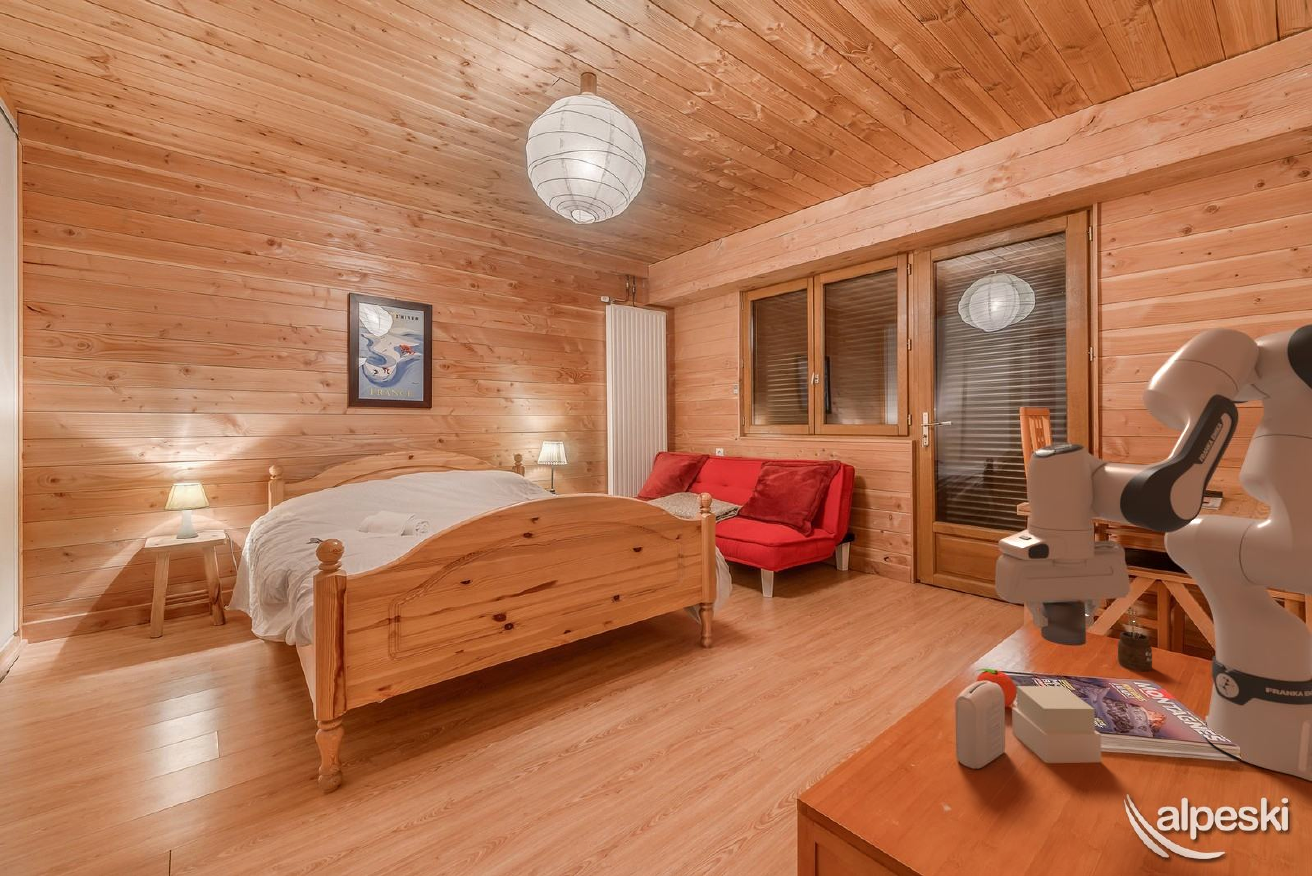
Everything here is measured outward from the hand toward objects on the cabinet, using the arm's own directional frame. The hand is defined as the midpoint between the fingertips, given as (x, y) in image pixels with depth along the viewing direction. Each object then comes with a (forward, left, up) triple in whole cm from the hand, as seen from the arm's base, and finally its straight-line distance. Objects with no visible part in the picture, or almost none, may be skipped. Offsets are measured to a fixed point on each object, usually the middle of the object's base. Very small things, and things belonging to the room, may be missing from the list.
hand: (1063, 625), depth 93 cm
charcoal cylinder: (0, 0, -2) cm, 2 cm away
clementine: (+1, -18, -23) cm, 29 cm away
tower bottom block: (-1, -4, -23) cm, 23 cm away
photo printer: (+13, -1, -23) cm, 26 cm away
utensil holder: (-40, -34, -23) cm, 57 cm away
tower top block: (-1, -4, -18) cm, 18 cm away
